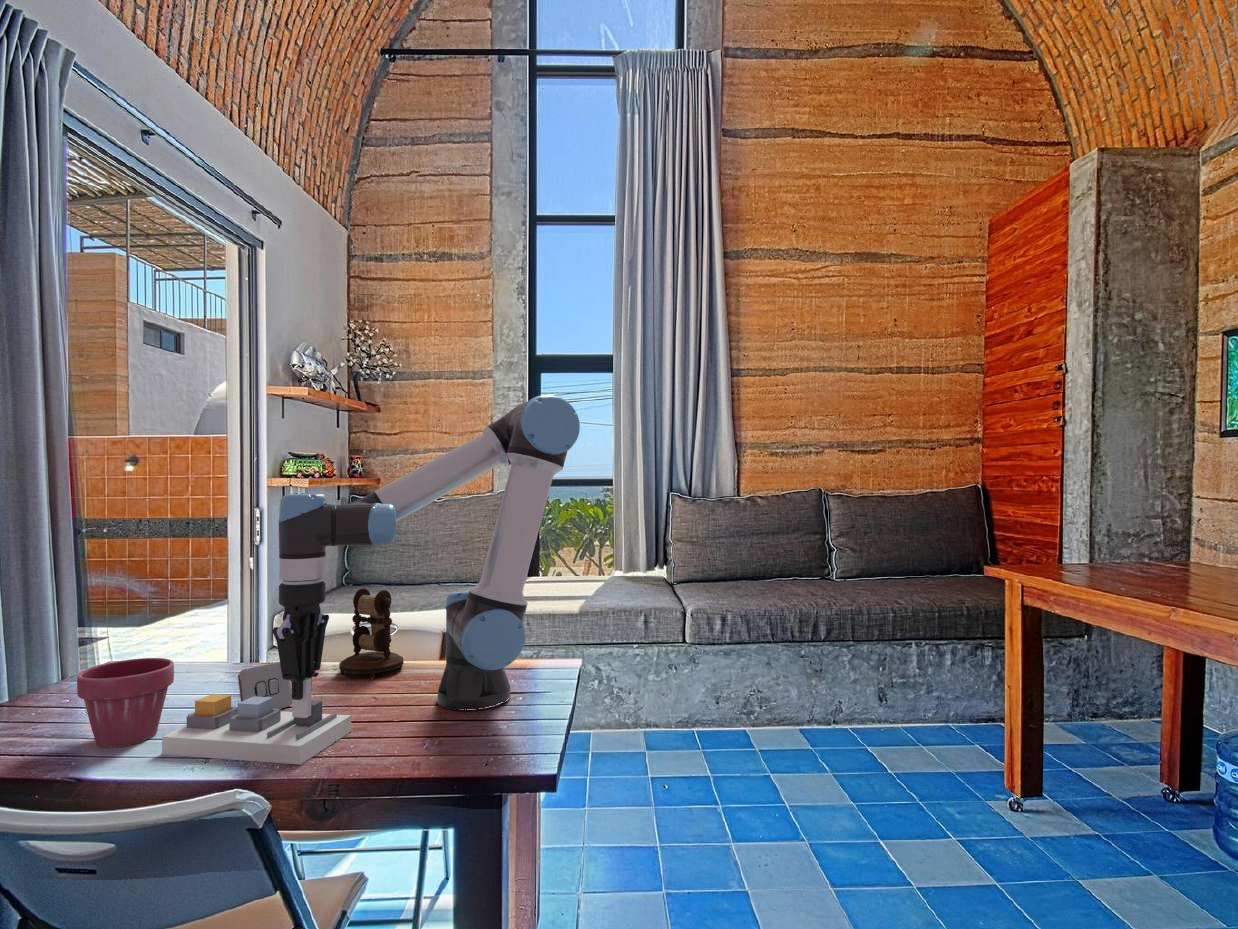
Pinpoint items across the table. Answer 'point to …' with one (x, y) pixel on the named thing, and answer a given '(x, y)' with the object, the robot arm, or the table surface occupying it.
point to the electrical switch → (265, 684)
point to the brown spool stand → (371, 636)
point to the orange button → (213, 705)
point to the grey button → (255, 707)
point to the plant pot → (125, 699)
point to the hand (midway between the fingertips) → (301, 716)
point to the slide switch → (315, 715)
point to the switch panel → (255, 737)
